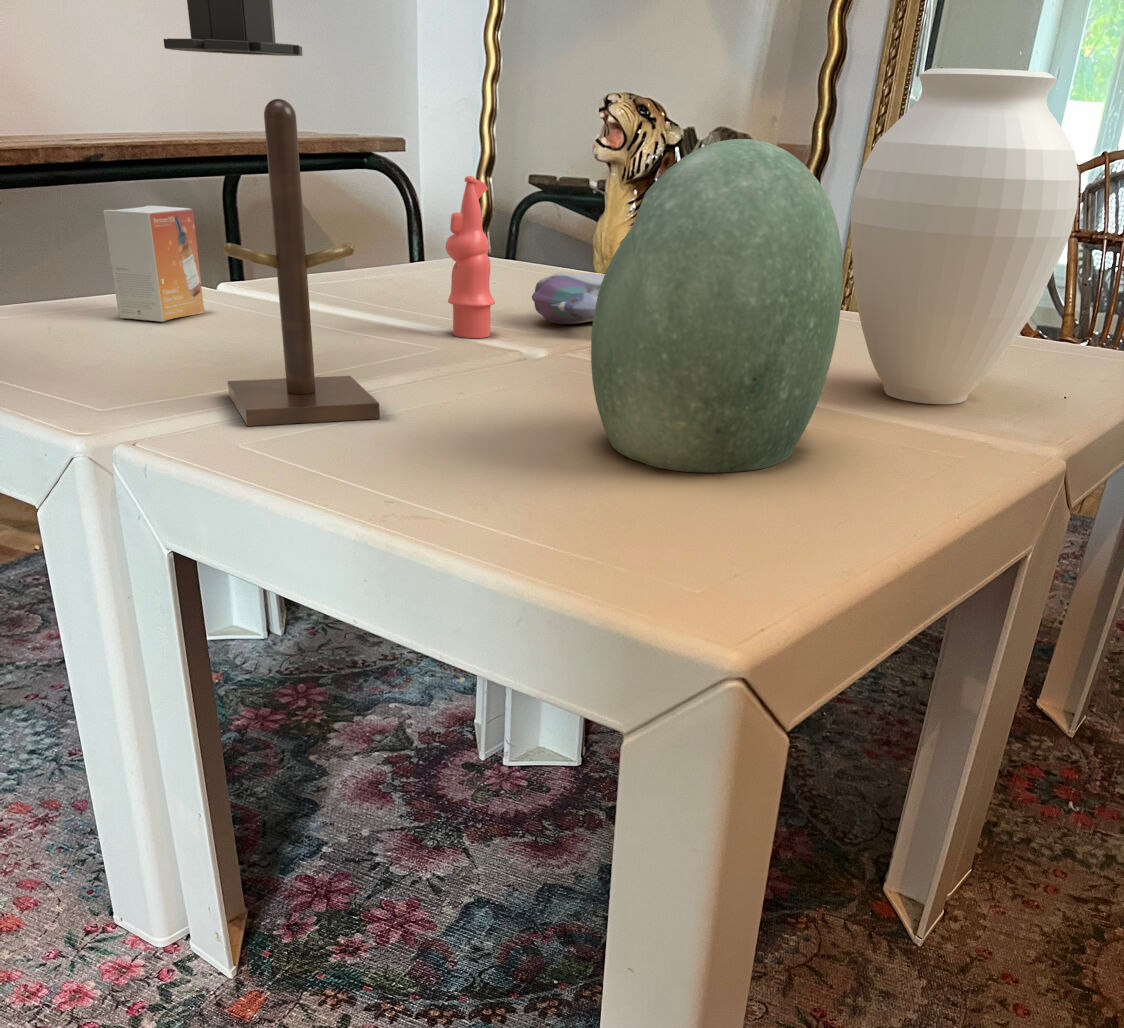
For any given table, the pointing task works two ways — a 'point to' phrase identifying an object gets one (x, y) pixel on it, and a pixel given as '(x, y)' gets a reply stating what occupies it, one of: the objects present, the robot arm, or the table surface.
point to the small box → (154, 262)
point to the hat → (232, 29)
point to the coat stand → (294, 301)
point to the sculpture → (719, 312)
